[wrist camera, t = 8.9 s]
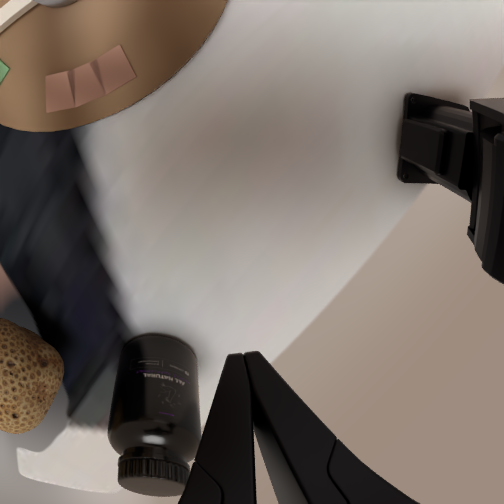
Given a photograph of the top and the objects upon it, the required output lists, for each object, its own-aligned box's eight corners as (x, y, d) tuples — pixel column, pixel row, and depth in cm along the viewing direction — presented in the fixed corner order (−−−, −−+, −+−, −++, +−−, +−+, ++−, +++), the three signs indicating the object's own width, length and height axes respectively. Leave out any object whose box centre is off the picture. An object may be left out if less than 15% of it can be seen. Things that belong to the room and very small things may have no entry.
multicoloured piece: (90, -61, 8) (63, -94, 4) (107, -17, 10) (80, -46, 6) (-41, 37, 9) (-87, 38, 5) (-29, 82, 11) (-77, 91, 7)
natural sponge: (-29, 308, 20) (-73, 387, 11) (20, 272, 19) (-36, 368, 11) (31, 372, 24) (7, 453, 16) (88, 351, 24) (66, 450, 15)
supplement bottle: (181, 323, 24) (186, 468, 14) (206, 375, 27) (220, 496, 17) (105, 339, 24) (83, 471, 13) (139, 387, 27) (135, 501, 17)
